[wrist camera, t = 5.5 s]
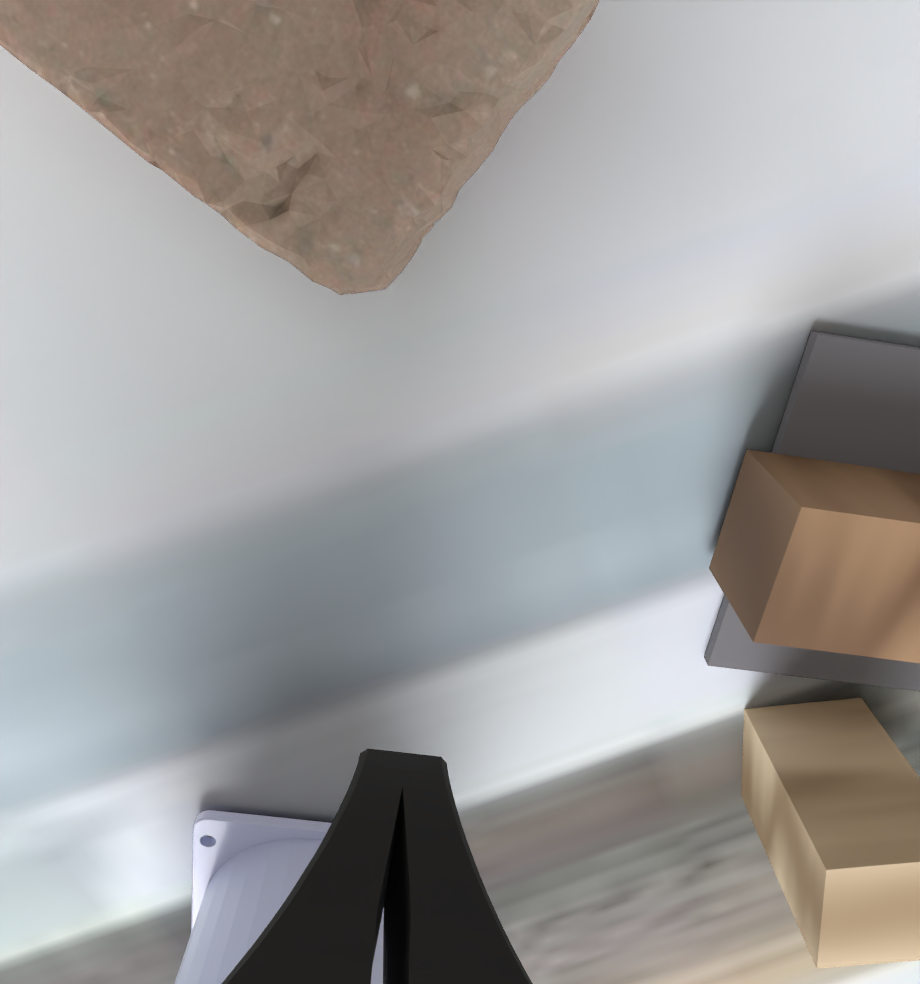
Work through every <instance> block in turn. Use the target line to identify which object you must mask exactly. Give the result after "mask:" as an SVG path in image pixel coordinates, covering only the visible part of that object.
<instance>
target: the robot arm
mask: <svg viewBox="0 0 920 984" xmlns="http://www.w3.org/2000/svg"><path fill="white" fill-rule="evenodd" d="M206 835H209V836H212V837H208V836H206ZM175 984H532V982H531V980H530V979H529V977H528V975H527V973H526V971H525V970H524V968H523V966H522V964H521V962H520V960H519V958H518V957H517V955H516V953H515V951H514V949H513V947H512V945H511V943H510V941H509V939H508V937H507V935H506V933H505V931H504V929H503V927H502V925H501V923H500V921H499V918H498V916H497V914H496V912H495V910H494V907H493V905H492V903H491V901H490V898H489V896H488V894H487V892H486V889H485V887H484V884H483V882H482V879H481V877H480V875H479V872H478V869H477V867H476V864H475V861H474V859H473V856H472V853H471V851H470V848H469V845H468V843H467V840H466V837H465V834H464V831H463V828H462V825H461V822H460V818H459V815H458V812H457V808H456V805H455V801H454V798H453V794H452V790H451V786H450V781H449V776H448V770H447V763H446V762H445V761H444V760H443V759H442V757H437V756H428V755H419V754H411V753H402V752H393V751H384V750H375V749H367V750H365V751H363V752H362V753H360V756H359V761H358V765H357V768H356V771H355V773H354V776H353V779H352V781H351V784H350V786H349V789H348V791H347V793H346V795H345V798H344V800H343V802H342V804H341V806H340V808H339V810H338V812H337V814H336V816H335V818H334V820H333V822H332V823H328V822H319V821H309V820H300V819H290V818H281V817H271V816H262V815H252V814H243V813H233V812H224V811H214V810H207V811H203V812H201V813H200V814H198V815H197V817H196V820H195V823H194V826H193V864H192V923H191V936H190V939H189V942H188V945H187V948H186V951H185V954H184V957H183V960H182V963H181V966H180V969H179V972H178V975H177V978H176V981H175Z"/></svg>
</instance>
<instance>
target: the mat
mask: <svg viewBox="0 0 920 984" xmlns="http://www.w3.org/2000/svg"><path fill="white" fill-rule="evenodd" d="M771 453H776V454H783V455H790V456H797V457H804V458H811V459H818V460H825V461H832V462H839V463H846V464H853V465H860V466H867V467H874V468H881V469H888V470H895V471H902V472H909V473H916V474H920V347H915V346H908V345H902V344H895V343H888V342H882V341H875V340H869V339H862V338H855V337H849V336H842V335H835V334H829V333H822V332H815V331H811V333H810V336H809V339H808V342H807V345H806V348H805V351H804V354H803V357H802V360H801V363H800V366H799V369H798V372H797V375H796V378H795V382H794V385H793V388H792V391H791V394H790V397H789V400H788V403H787V406H786V409H785V412H784V415H783V418H782V421H781V424H780V427H779V430H778V433H777V436H776V440H775V443H774V446H773V449H772V452H771ZM704 658H705V660H706V662H707V664H708V666H716V667H725V668H733V669H741V670H749V671H757V672H766V673H774V674H782V675H790V676H799V677H807V678H815V679H823V680H831V681H840V682H848V683H856V684H864V685H873V686H881V687H889V688H897V689H905V690H914V691H920V663H913V662H905V661H897V660H890V659H882V658H874V657H866V656H858V655H850V654H842V653H835V652H827V651H819V650H811V649H803V648H795V647H787V646H779V645H772V644H764V643H756V642H753V641H752V639H751V638H750V636H749V634H748V633H747V631H746V629H745V628H744V626H743V624H742V623H741V621H740V619H739V618H738V616H737V614H736V613H735V611H734V609H733V607H732V606H731V604H730V602H729V601H728V599H727V597H726V596H725V595H724V598H723V601H722V604H721V607H720V611H719V614H718V617H717V620H716V623H715V626H714V629H713V632H712V635H711V638H710V641H709V644H708V647H707V650H706V653H705V656H704Z"/></svg>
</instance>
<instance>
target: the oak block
mask: <svg viewBox="0 0 920 984" xmlns="http://www.w3.org/2000/svg"><path fill="white" fill-rule="evenodd" d="M741 796H742V798H743V801H744V803H745V805H746V808H747V810H748V812H749V814H750V817H751V819H752V821H753V824H754V826H755V828H756V830H757V833H758V835H759V837H760V840H761V842H762V844H763V847H764V849H765V851H766V853H767V856H768V858H769V860H770V863H771V865H772V867H773V869H774V872H775V874H776V876H777V879H778V881H779V883H780V885H781V888H782V890H783V892H784V895H785V897H786V899H787V901H788V904H789V906H790V908H791V911H792V913H793V915H794V918H795V920H796V922H797V924H798V927H799V929H800V931H801V934H802V936H803V938H804V940H805V943H806V945H807V947H808V950H809V952H810V954H811V956H812V959H813V961H814V963H815V966H816V968H829V967H841V966H853V965H865V964H878V963H890V962H902V961H915V960H920V778H919V776H918V775H917V774H916V772H915V771H914V769H913V768H912V767H911V765H910V764H909V763H908V761H907V760H906V758H905V757H904V756H903V754H902V753H901V752H900V750H899V749H898V747H897V746H896V745H895V743H894V742H893V741H892V739H891V738H890V737H889V735H888V734H887V732H886V731H885V730H884V728H883V727H882V726H881V724H880V723H879V721H878V720H877V719H876V717H875V716H874V715H873V713H872V712H871V710H870V709H869V708H868V706H867V705H866V704H865V702H864V701H863V699H862V698H852V699H842V700H831V701H821V702H810V703H800V704H790V705H779V706H769V707H758V708H748V709H744V734H743V762H742V791H741Z"/></svg>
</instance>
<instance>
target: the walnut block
mask: <svg viewBox="0 0 920 984" xmlns="http://www.w3.org/2000/svg"><path fill="white" fill-rule="evenodd" d="M709 569H710V571H711V572H712V574H713V576H714V577H715V579H716V581H717V582H718V584H719V586H720V587H721V589H722V591H723V592H724V594H725V596H726V597H727V599H728V601H729V602H730V604H731V606H732V607H733V609H734V611H735V613H736V614H737V616H738V618H739V619H740V621H741V623H742V624H743V626H744V628H745V629H746V631H747V633H748V634H749V636H750V638H751V639H752V641H753V642H756V643H764V644H772V645H779V646H787V647H795V648H803V649H811V650H819V651H827V652H835V653H842V654H850V655H858V656H866V657H874V658H882V659H890V660H897V661H905V662H913V663H920V474H916V473H909V472H902V471H895V470H888V469H881V468H874V467H867V466H860V465H853V464H846V463H839V462H832V461H825V460H818V459H811V458H804V457H797V456H790V455H783V454H776V453H769V452H762V451H755V450H748V449H747V450H746V453H745V456H744V460H743V463H742V466H741V469H740V472H739V475H738V478H737V482H736V485H735V488H734V491H733V494H732V497H731V501H730V504H729V507H728V510H727V513H726V516H725V519H724V523H723V526H722V529H721V532H720V535H719V538H718V542H717V545H716V548H715V551H714V554H713V557H712V560H711V564H710V567H709Z"/></svg>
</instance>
